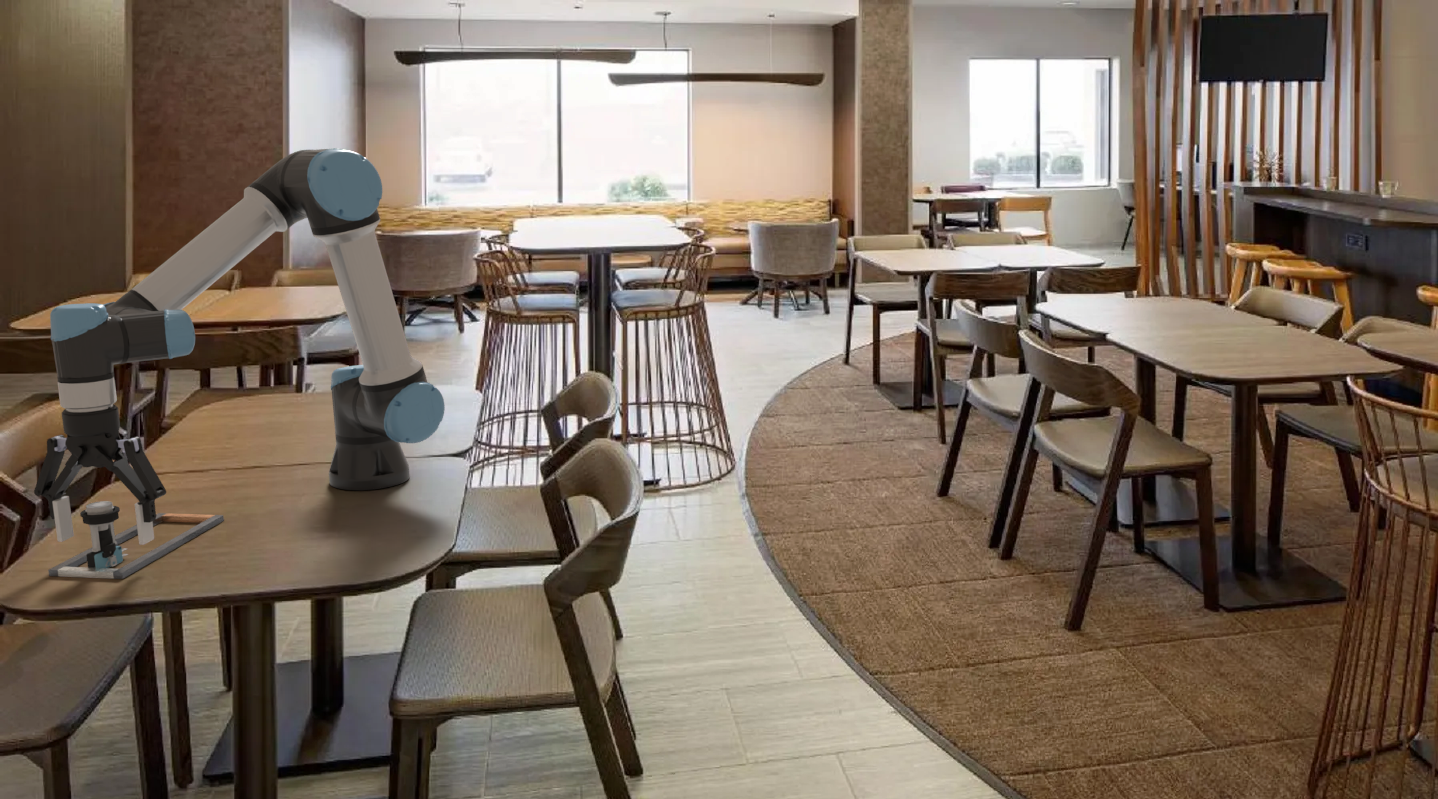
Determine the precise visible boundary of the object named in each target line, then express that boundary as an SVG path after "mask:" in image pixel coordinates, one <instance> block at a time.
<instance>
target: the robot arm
mask: <svg viewBox="0 0 1438 799" xmlns="http://www.w3.org/2000/svg"><path fill="white" fill-rule="evenodd" d="M382 197H383V184H382V179H381V176H380V174H379V172H378V170H377V168H376V167H375V165H374V164H373V163H372V162H371V161H370V160H369V159H367V158H366V157H365V156H363V155H362V154H361V153H358V152H355V151H352V150H347V149H344V148H337V147H335V148H324V149H322V148H321V149H300V150H298V151H295V152H292V153H289V154H288V155H287V156H284V157H283V158H281V159H280V160H278V162H276V163H275V164H274V165H272V166H271V167H270V168H268V169H267V170H266V171H265V172H264V173H262V174H261V175H260V176H259V177H257V179H255V180H254V181H253V182H252V183H250V184H249V185H248V186H247V187H245V188H244V189H243V198H242V199H241V200H240V201H238V202H237V203H236V204H235V205H233V206H232V207H230V209H228V210H227V211H226V212H224V213H223V214H222V215H221V216H220V217H219V218H217V219H216V220H215V221H214V222H212V223H211V224H209V226H207V227H206V228H205V229H203V231H201V232H200V233H199V234H197V235H196V236H195V237H193V239H191V240H190V241H189V242H188V243H187V244H184V245H183V246H182V247H181V248H180V249H179V250H178V251H177V252H175V253H174V254H173V255H172V256H170V257H169V258H167V260H165V261H164V262H163V263H162V264H161V265H159V266H158V267H156V268H155V269H154V271H151V272H150V273H149V275H147V276H146V277H144V278H143V279H142V280H141V281H139V283H138V284H136V285H135V286H134V287H132V288H130V290H128V291H127V292H125V293H124V294H123V295H122V296H120V298H118V299H117V300H116V301H111V302H106V303H104V304H102V303H94V302H93V303H92V302H89V303H88V302H87V303H86V302H85V303H70V304H69V303H68V304H63V305H58V306H56V307H54V308H53V309H52V310H51V311H50V313H49V314H50V315H49V319H50V321H49V322H50V340H51V344H52V348H53V349H52V350H53V356H54V362H55V368H56V374H57V375H56V376H57V387H58V388H57V389H58V397H59V398H58V399H59V405H60V407H61V408H63V410H62V412H61V420H62V428H63V433H64V434H65V435H66V437H65V436H64V435H63V434H58V435H55V436H53V437H52V436H51V437H49V438H48V439H46V455H45V457H44V461H43V464H42V466H41V468H40V469H41V470H40V473H39V475H38V479H37V482H36V485H35V487H34V489H33V493H34V496H37V497H40V496H41V497H44V498H45V499H46V500H47V501H48V507H49V516H50V518H51V520H54V522H55V524H54V525H55V531H56V539H57V542H61V543H63V542H64V541H66V540H69V539H71V538H72V537H73V538H74V536H75V533H74V532H75V531H74V527H73V520H72V519H73V518H72V511H71V510H72V509H71V503H70V496H69V495H66V494H67V493H66V491H67V489H69V486H70V485H71V484H72V483H73V481H74V479H75V477H77V474H78V473H79V472H80V470H81V469H82V468H90V467H94V468H99V469H102V468H106V469H107V471H109V472H112V473H113V474H114V475H115V476H116V477H117V478H118V479H119V481H120V482H121V483H122V484H123V485H124V486H125V487H126V488H127V490H129V492H131V494H132V495H133V496H134V497H135V498H136V500H137V501H138V502H136V503H134V510H135V512H134V513H135V520H136V525H137V530H138V535H137V538H138V544H139V545H142V546H144V545H146V544H148V543H149V542H151V541H153V540H155V532H154V526H153V522H152V521H154V520H155V519H156V514H157V512H156V511H157V510H156V504H155V500H157V499H158V498H161V497H163V496H164V495H166V494H167V490H166V488H165V486H164V485H163V483H162V481H161V480H160V477H159V475H158V474H157V473H156V470H155V469H154V467H153V466H152V464H151V462H150V460H149V459H148V456H147V454H146V453H145V451H144V449H143V444H142V440H141V438H140V437H139V436H134V437H131V438H129V439H127V438H126V439H122V438H121V436H120V432H119V431H120V427H121V422H120V414H119V407H118V406H117V405H116V404H115V403H116V402H117V400H118V399H117V398H118V397H117V391H116V390H117V389H116V380H115V371H114V365H122V364H127V363H135V362H136V363H137V362H144V361H145V362H146V361H154V360H155V361H156V360H163V359H169V360H172V359H173V358H179V357H184V356H187V355H188V356H189V355H190V354H191V353H192V352H193V350H194V348H195V344H196V333H195V327H194V323H193V321H192V318H191V316H190V314H188V312H186V311H185V310H183V309H184V308H186V307H187V306H188V305H189V304H191V303H192V302H193V301H194V300H195V299H196V298H198V297H199V296H200V295H202V294H203V292H205V291H206V290H207V289H208V288H210V287H211V286H212V285H213V284H214V283H215V282H217V281H218V280H219V279H220V278H222V277H223V276H224V275H225V274H226V273H227V272H229V271H230V270H231V269H232V268H234V267H235V266H236V265H237V264H239V263H240V262H241V261H242V260H243V259H244V258H246V257H247V256H248V255H249V254H250V253H252V252H253V251H254V250H255V249H257V248H258V247H259V246H260V245H261V244H262V243H263V242H265V241H267V239H268V238H270V236H272V235H273V234H275V233H276V232H280V233H283V232H284V233H285V232H286V231H288V229H290V228H291V227H292V226H294V225H295V224H297V223H298V222H301V221H303V220H304V219H307V220H308V224H309V227H310V229H311V233H312V235H313V237H315V238H316V239H318V240H320V241H321V242H323V243H324V245H325V248H326V252H327V253H328V254H327V255H328V257H329V260H330V263H331V267H332V270H333V273H334V277H335V280H336V282H337V286H338V289H339V292H340V296H341V298H342V301H343V305H344V309H345V311H346V316H347V317H348V320H349V324H350V329H351V330H352V333H353V337H354V340H355V343H356V347H357V350H358V353H359V356H360V359H361V363H362V364H358V365H357V364H356V365H350V366H345V367H338V368H336V369H334V370H333V372H332V373H331V375H330V376H331V379H330V380H331V382H330V384H331V385H330V391H331V399H332V409H333V421H334V424H333V425H334V434H335V447H334V451H333V456H332V460H331V463H330V467H329V471H328V478H329V481H328V482H329V485H330V487H333V488H336V489H339V490H347V491H371V490H379V489H385V488H391V487H394V486H397V485H400V484H403V483H405V482H406V481H408V480H409V479H410V477H411V474H410V466H409V463H408V461H407V458H406V455H405V452H404V450H403V448H402V446H401V444H400V443H404V444H405V443H406V444H418V443H420V442H421V443H422V442H423V441H425V440H427V439H429V438H430V437H432V436H433V434H435V432H436V431H437V430H438V428H439V426H440V424H441V423H442V421H443V420H444V416H445V401H444V400H445V399H444V396H443V394H442V393H441V391H440V389H438V388H437V387H436V386H434V384H432V383H430V382H428V379H427V376H426V372H425V370H424V366H423V363H422V361H420V360H419V359H418V358H415V357H413V356H412V355H411V351H410V348H409V344H408V341H407V338H406V334H405V332H404V327H403V325H402V324H403V323H402V321H401V317H400V314H399V311H398V307H397V304H396V301H395V296H394V294H393V290H392V287H391V284H390V279H389V277H388V274H387V270H386V266H385V263H384V259H383V256H382V253H381V248H380V246H379V242H378V239H377V236H376V229H377V227H378V225H379V223H380V222H381V217H380V214H379V210H378V208H379V206H380V201H381V200H382ZM66 450H68V451H69V452H70V454H71V455H70V456H69V458H68V459H67V461H66V462H65V463H64V465H65V466H64V467H63V468H62V470H61V472H60V473H59V471H60V467H61V465H62V461H63V460H64V456H65V452H66ZM121 451H122V452H121ZM124 454H125V455H124ZM58 474H59V475H58Z"/></svg>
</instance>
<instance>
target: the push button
mask: <svg viewBox="0 0 1438 799" xmlns="http://www.w3.org/2000/svg"><path fill="white" fill-rule="evenodd" d="M85 507H86V508H85V509H84V510H81V511H80V513H79V514H80V517H81V518H82V523H83V524H85V525H88V526H89V530H90V538H91V546H92V547H93V549H92V552H90V553H88V554H87V555H86V556H87V561H86V563H87V568H112V567H115V566H117V565H119V564H121V563H123V561H124V557H126V556H129V554H128V553H123V552H125V551H127V550H128V548H127V547H126V548H122V546H120V545H117V546H116V544H117V542H116V541H115V535H116V534H115V526H114V523H115V521H117V520H119V518H120V517H119V515H120V514H119V512H120V507H119V506H117V505H113V502H112V501H110V500H109V501H108V500H104V501H103V500H102V501H101V500H100V501H95V502H90V503H88V504H87V505H86V506H85ZM92 547H91V548H92Z"/></svg>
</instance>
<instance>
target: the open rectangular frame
mask: <svg viewBox="0 0 1438 799" xmlns="http://www.w3.org/2000/svg"><path fill="white" fill-rule="evenodd" d="M224 521H225V518H224V515H223V514H202V513H200V514H199V513H198V514H195V513H193V514H192V513H171V512H170V513H169V512H168V513H165V512H158V513H156V519H155V520H154V521H152V522H153V527H155V526H157V525H158V524H160V523H162V522H169V523H171V522H173V523H175V522H176V523H196V524H197V523H198V524H197V525H194V526H192V528H189V529H188V530H186V531H184V532H182V533H181V534H179V535H177V536H175V537H173V538H172V539H169V540H168V541H165V543H163V544H161V545H159V546H157V547H156V548H154V549H152V550H150V551H148V552H146V553H144V554H143V555H141V556H139V557H138V558H136V559H134V560H132V561H131V562H129V563H127V564H125V565H124V566H122V567H120V568H112V567H109V568H88V566H86V567H84V566H81V565H82V564H84V563H87V556H86V555H87V554H88V553H90V552H92V549H93V547H91V548H88V549H86V550H84V551H82V552H80V553H78V554H77V555H75V556H73V557H70V558H69V559H66V560H65V561H62V562H61V563H58V564H57V565H55V566H53V567H51V568H49V569H48V570H47V571H48V576H49V577H64V578H65V577H66V578H67V577H69V578H70V577H71V578H91V579H114V580H117V579H119V580H124V579H125V578H127V577H129V576H130V575H132V574H134V573H136V572H137V571H139V570H142V569H143V568H145V567H146V566H148V565H149V564H151V563H153V562H154V561H157V560H158V559H160V558H162V557H164V556H166V555H167V554H170V552H172V551H174V550H176V549H177V548H179V547H181V546H183V545H184V544H186V543H188V542H189V541H191V540H194V539H195V538H197V537H198V536H199V535H201V534H204V533H205V532H207V531H208V530H210V529H212V528H214V527H216V526H217V525H219V524H221V523H222V522H224ZM136 536H138V530H137V524H135V525H133V526H131V527H128V528H127V529H125V530H123V531H121V532H119V533H117V534H115V541H116V542H117V544H116V546H120V544H122V543H124V542H126V541H128V540H130V539H132V538H134V537H136ZM79 566H80V567H79Z"/></svg>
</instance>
